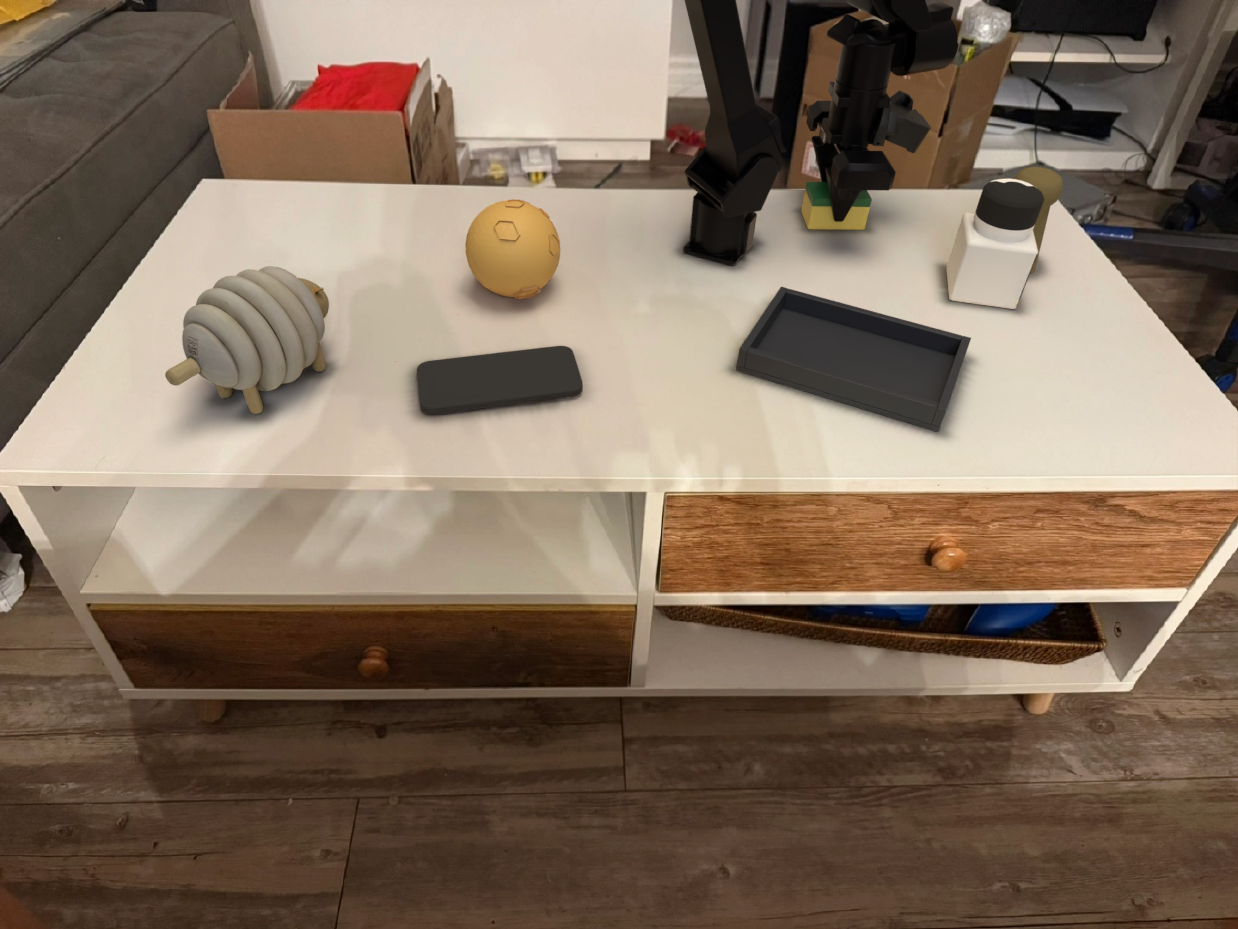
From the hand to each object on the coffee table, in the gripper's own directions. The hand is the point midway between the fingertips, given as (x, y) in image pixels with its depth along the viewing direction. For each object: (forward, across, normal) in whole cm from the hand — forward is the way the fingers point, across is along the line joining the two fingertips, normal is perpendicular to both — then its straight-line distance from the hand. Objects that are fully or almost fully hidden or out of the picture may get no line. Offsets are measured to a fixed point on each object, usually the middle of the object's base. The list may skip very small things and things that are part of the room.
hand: (834, 211), depth 108 cm
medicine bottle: (+1, -15, -13) cm, 20 cm away
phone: (+1, -32, +39) cm, 50 cm away
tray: (+1, -29, +4) cm, 30 cm away
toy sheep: (+1, -32, +60) cm, 68 cm away
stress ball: (+1, -16, +38) cm, 41 cm away
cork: (+1, -10, -19) cm, 21 cm away
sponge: (+1, 0, 0) cm, 1 cm away
